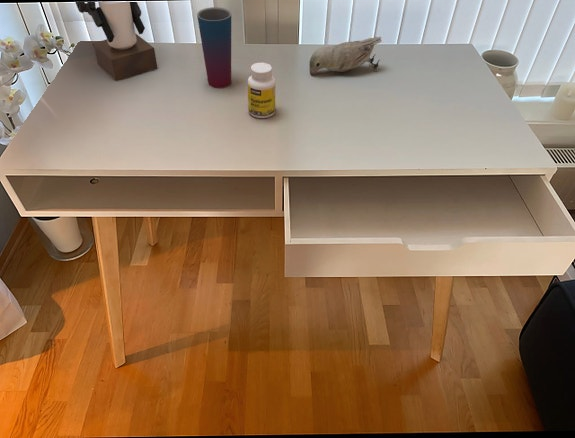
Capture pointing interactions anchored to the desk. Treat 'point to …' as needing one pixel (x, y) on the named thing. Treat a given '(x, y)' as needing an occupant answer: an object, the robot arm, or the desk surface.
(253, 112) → the supplement bottle
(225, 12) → the cup
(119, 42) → the beverage can
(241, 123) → the desk surface
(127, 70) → the walnut block
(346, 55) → the decorative bird
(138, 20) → the robot arm
